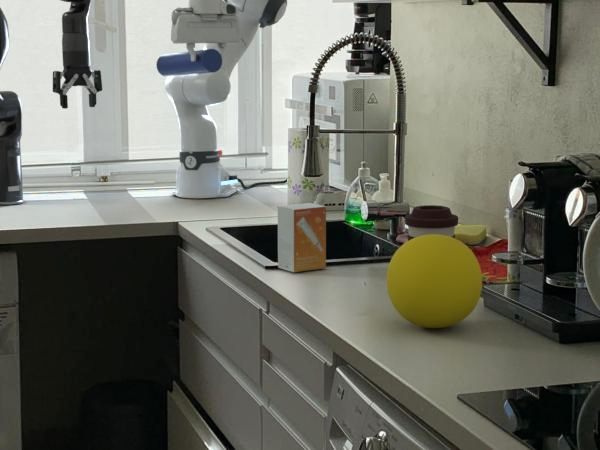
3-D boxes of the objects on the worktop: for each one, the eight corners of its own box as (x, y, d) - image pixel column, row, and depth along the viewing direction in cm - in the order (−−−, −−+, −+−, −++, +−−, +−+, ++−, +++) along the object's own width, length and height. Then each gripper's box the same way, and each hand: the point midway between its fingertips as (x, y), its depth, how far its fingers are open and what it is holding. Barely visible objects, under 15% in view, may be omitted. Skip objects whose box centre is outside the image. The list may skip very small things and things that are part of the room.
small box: (294, 273, 210) (293, 209, 208) (277, 268, 215) (276, 205, 213) (327, 268, 215) (326, 205, 212) (309, 263, 220) (309, 202, 218)
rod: (157, 76, 293) (155, 54, 292) (176, 76, 297) (174, 54, 296) (203, 72, 274) (201, 49, 273) (222, 72, 278) (221, 48, 277)
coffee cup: (400, 280, 202) (400, 204, 200) (450, 279, 203) (451, 203, 201) (409, 292, 193) (410, 212, 190) (462, 291, 193) (463, 211, 191)
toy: (451, 310, 179) (452, 224, 177) (498, 332, 165) (500, 239, 163) (371, 319, 174) (371, 230, 171) (412, 342, 160) (413, 246, 157)
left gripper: (92, 49, 300) (94, 106, 303) (46, 49, 291) (49, 108, 294) (105, 49, 294) (107, 107, 297) (58, 49, 285) (61, 109, 288)
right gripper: (177, 7, 267) (179, 61, 269) (243, 7, 279) (244, 60, 281) (165, 7, 272) (167, 61, 274) (230, 8, 284) (231, 60, 286)
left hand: (78, 107), depth 295 cm, fingers open, 8 cm apart
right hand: (207, 61), depth 278 cm, fingers closed on rod, 6 cm apart
